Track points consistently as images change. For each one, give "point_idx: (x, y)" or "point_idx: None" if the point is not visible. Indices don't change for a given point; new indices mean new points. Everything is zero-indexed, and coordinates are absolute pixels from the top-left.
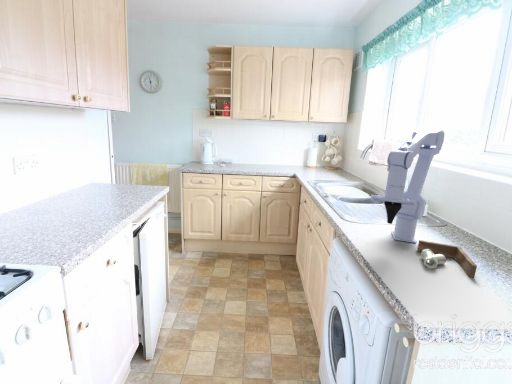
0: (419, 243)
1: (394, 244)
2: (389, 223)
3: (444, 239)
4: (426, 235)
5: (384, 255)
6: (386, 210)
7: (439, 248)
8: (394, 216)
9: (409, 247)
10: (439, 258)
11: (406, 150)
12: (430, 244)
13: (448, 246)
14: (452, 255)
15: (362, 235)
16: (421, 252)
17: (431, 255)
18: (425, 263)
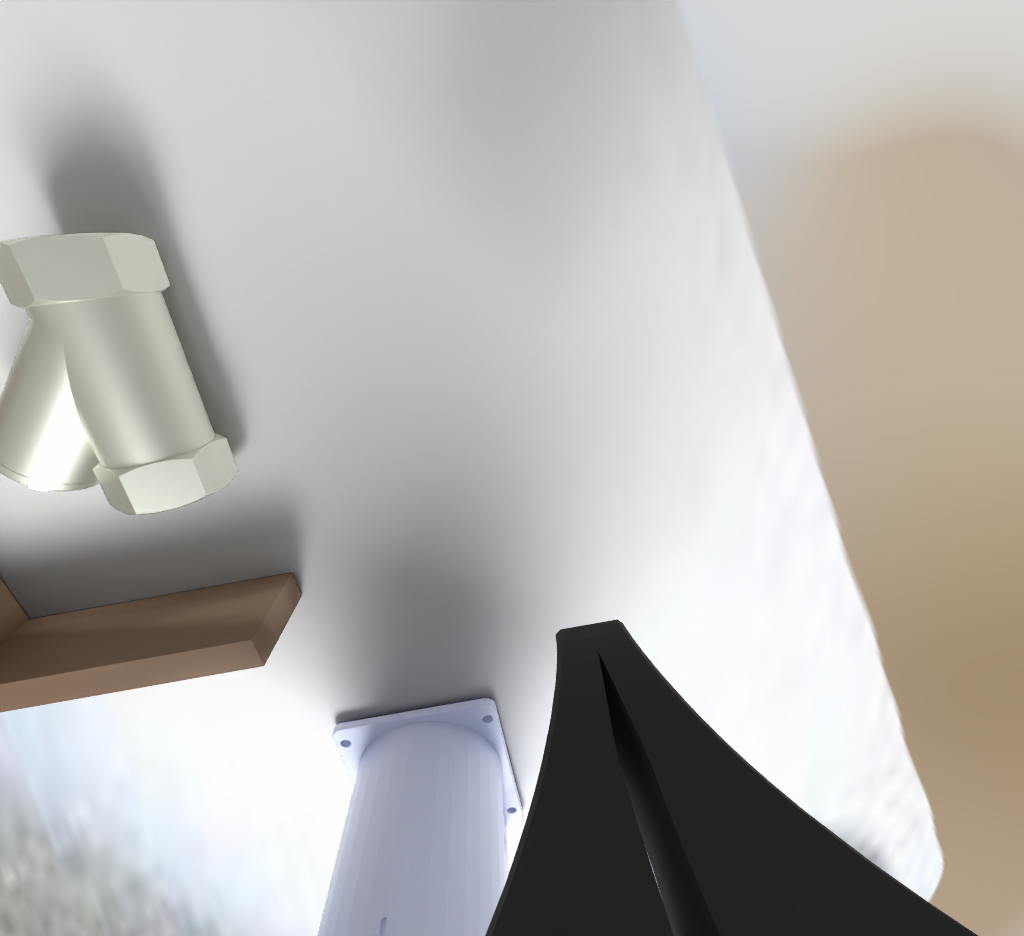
0: (260, 624)
1: (479, 612)
2: (594, 624)
3: (187, 886)
4: (301, 886)
5: (535, 303)
6: (834, 840)
7: (102, 642)
8: (555, 745)
9: (365, 621)
10: (9, 375)
11: None
12: (163, 646)
13: (6, 679)
14: (31, 628)
15: (730, 644)
16: (224, 484)
17: (66, 353)
18: (133, 236)
